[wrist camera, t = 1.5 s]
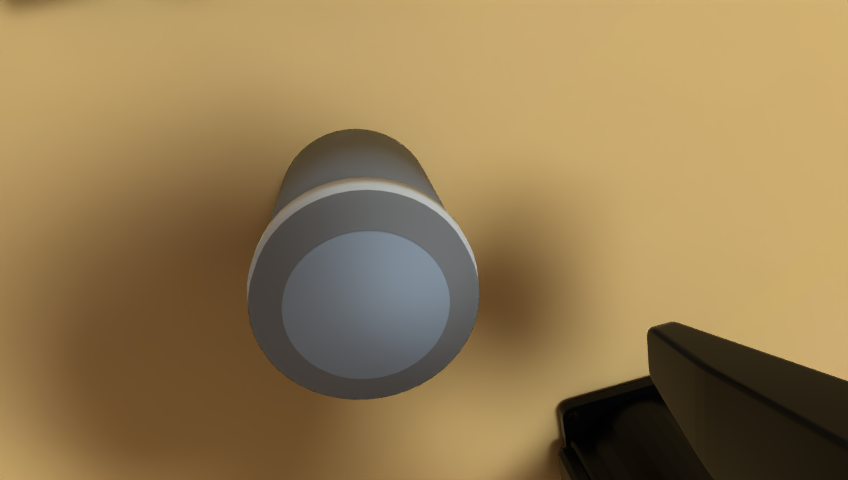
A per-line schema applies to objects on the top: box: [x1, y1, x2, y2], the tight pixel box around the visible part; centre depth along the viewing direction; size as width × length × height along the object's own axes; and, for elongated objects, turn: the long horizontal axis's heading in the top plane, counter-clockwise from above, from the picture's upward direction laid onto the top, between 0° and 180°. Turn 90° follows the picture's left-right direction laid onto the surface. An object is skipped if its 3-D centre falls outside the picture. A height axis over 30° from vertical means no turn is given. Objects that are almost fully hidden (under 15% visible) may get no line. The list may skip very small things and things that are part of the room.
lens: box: [247, 129, 479, 400], centre depth 15 cm, size 5×5×7 cm
